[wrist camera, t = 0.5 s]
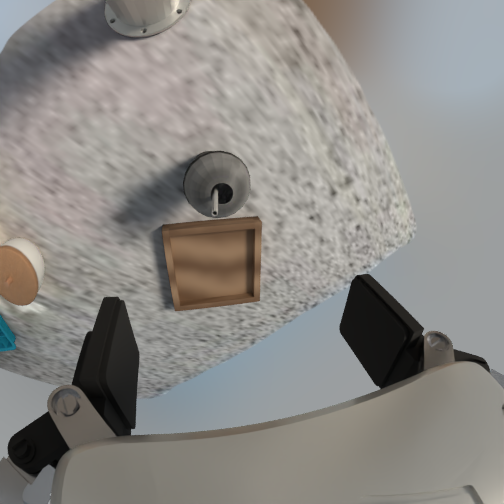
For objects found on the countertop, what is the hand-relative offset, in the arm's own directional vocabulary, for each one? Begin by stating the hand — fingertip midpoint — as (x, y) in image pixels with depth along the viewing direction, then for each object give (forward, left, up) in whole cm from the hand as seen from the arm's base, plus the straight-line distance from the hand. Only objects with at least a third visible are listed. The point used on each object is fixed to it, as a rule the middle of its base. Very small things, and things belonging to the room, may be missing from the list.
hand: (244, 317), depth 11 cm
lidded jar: (+11, -33, -33) cm, 47 cm away
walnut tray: (+16, +1, -32) cm, 36 cm away
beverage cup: (0, +1, -33) cm, 33 cm away
